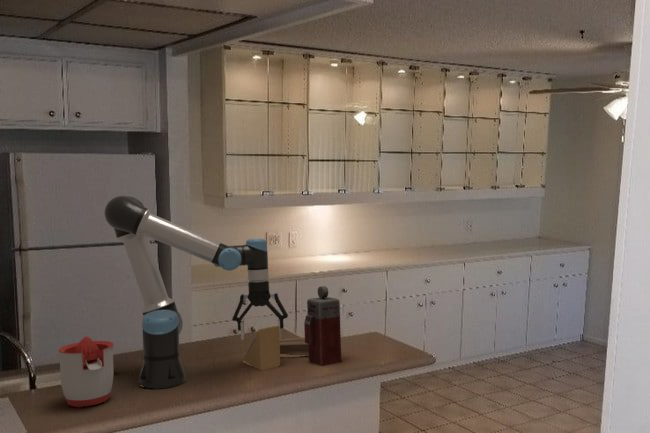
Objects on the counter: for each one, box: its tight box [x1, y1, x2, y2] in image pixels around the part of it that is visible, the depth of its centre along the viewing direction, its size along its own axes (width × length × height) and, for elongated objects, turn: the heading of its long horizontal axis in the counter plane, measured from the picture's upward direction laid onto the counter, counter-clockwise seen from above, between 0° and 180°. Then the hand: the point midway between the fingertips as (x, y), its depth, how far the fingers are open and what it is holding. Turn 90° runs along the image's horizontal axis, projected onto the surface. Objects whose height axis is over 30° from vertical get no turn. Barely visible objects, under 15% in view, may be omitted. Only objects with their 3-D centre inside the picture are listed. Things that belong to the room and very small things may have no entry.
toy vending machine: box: [303, 285, 342, 367], centre depth 219 cm, size 9×11×28 cm
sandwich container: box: [242, 325, 281, 371], centre depth 219 cm, size 9×15×15 cm, turn 35°
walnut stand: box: [280, 337, 309, 356], centre depth 233 cm, size 12×19×5 cm, turn 90°
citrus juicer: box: [57, 336, 114, 408], centre depth 180 cm, size 16×17×20 cm
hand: (261, 338), depth 218 cm, fingers open, 13 cm apart
